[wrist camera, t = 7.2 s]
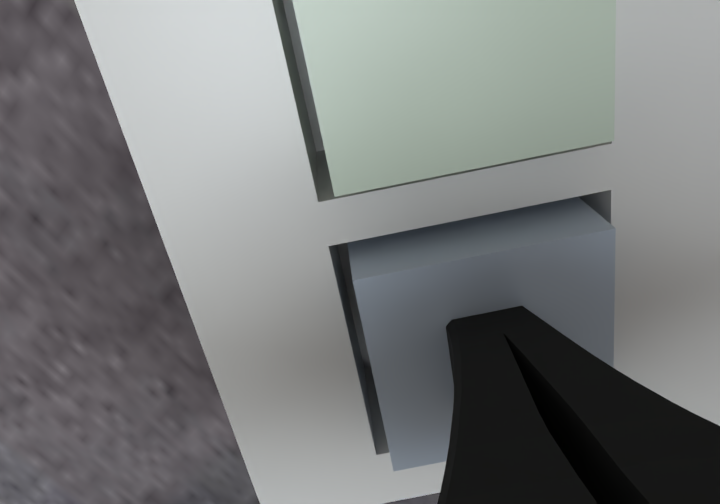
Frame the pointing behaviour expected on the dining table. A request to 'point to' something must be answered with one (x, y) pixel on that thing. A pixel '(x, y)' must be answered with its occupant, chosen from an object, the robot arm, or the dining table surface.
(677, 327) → the key strip
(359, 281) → the key slate
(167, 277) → the dining table surface
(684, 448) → the robot arm
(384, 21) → the key sage
